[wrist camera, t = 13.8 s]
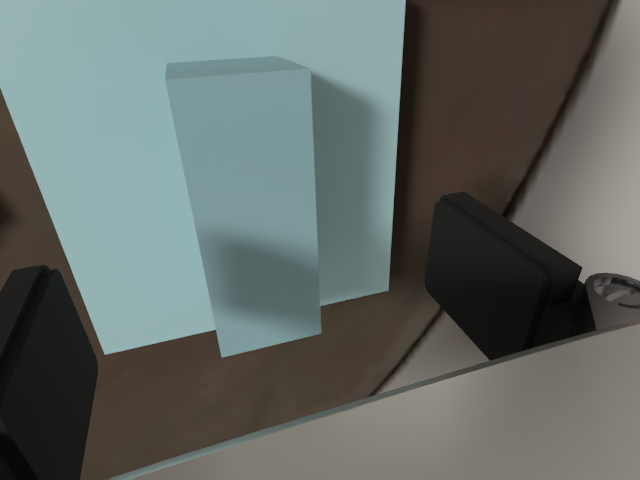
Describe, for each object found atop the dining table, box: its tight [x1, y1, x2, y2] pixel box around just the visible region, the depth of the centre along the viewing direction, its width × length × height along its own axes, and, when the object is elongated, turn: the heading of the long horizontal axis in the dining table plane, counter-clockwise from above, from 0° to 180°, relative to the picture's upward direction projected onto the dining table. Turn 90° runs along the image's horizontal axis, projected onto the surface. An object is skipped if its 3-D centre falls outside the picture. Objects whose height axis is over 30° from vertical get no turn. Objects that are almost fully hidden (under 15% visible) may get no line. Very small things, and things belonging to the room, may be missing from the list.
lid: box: [0, 0, 406, 357], centre depth 17 cm, size 15×15×7 cm
